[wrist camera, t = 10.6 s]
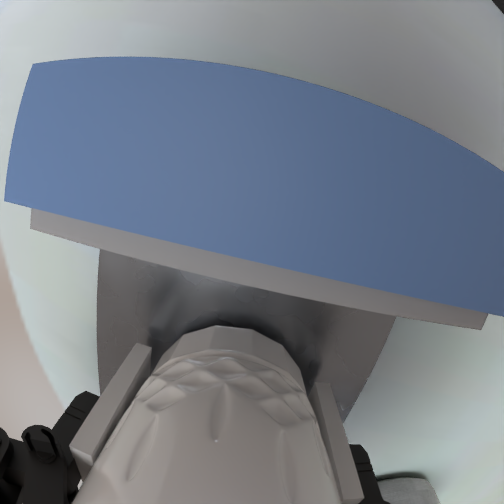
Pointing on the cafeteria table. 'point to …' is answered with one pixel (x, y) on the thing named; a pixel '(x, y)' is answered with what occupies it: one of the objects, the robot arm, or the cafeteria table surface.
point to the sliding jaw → (260, 185)
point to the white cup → (216, 430)
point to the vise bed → (232, 322)
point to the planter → (407, 491)
